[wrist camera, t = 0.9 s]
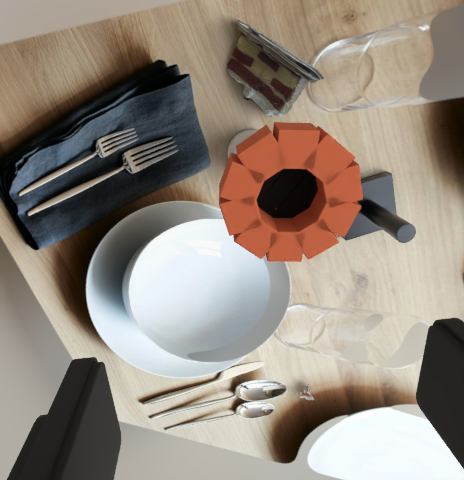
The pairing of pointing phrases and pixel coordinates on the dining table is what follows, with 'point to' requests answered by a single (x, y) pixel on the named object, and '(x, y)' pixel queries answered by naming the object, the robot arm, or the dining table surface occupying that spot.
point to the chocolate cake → (269, 71)
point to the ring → (309, 221)
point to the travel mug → (282, 187)
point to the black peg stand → (379, 211)
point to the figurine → (305, 394)
